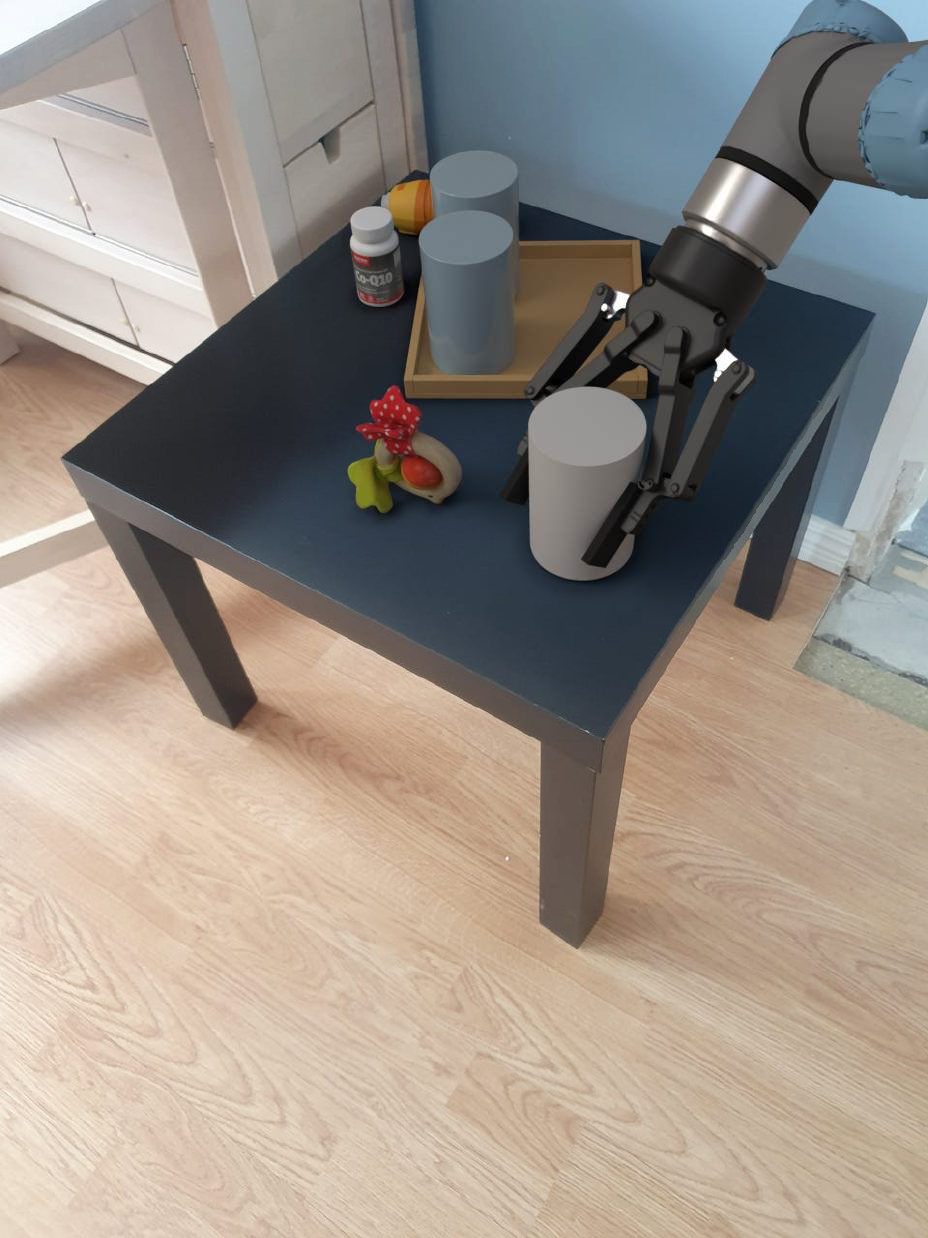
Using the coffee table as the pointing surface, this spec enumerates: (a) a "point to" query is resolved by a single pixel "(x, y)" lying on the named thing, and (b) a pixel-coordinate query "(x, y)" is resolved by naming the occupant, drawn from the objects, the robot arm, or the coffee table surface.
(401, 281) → the pill bottle
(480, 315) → the slate blue cylinder
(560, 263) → the tray
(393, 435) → the bird rattle
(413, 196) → the toy figure
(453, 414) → the coffee table surface
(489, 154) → the grey-blue cylinder
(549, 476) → the light grey cylinder
